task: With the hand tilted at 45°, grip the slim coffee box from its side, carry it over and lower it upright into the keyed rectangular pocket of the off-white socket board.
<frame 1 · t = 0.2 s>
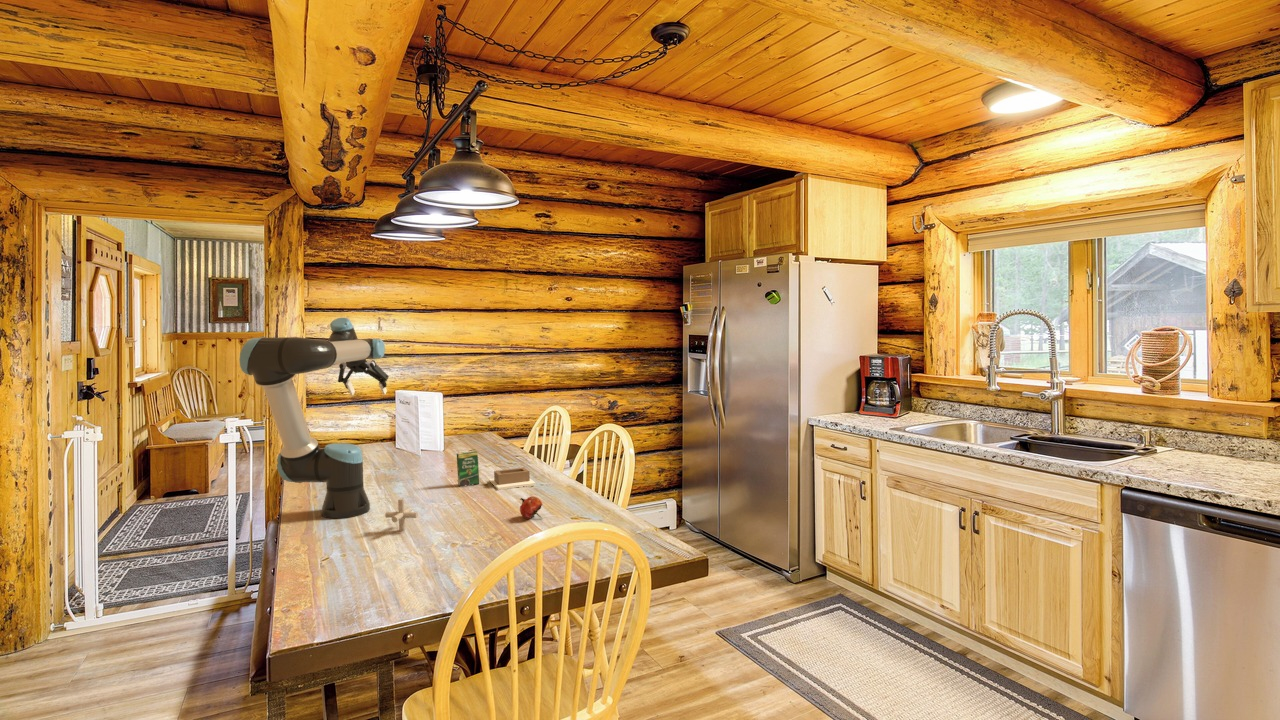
hand: (369, 393, 270), 36 cm above the table, tool tilted 35°, fingers open, 13 cm apart
socket board: (512, 483, 260), on the table
coffee box: (468, 485, 258), on the table
pipe connector: (402, 531, 204), on the table
pomegranate: (532, 518, 215), on the table
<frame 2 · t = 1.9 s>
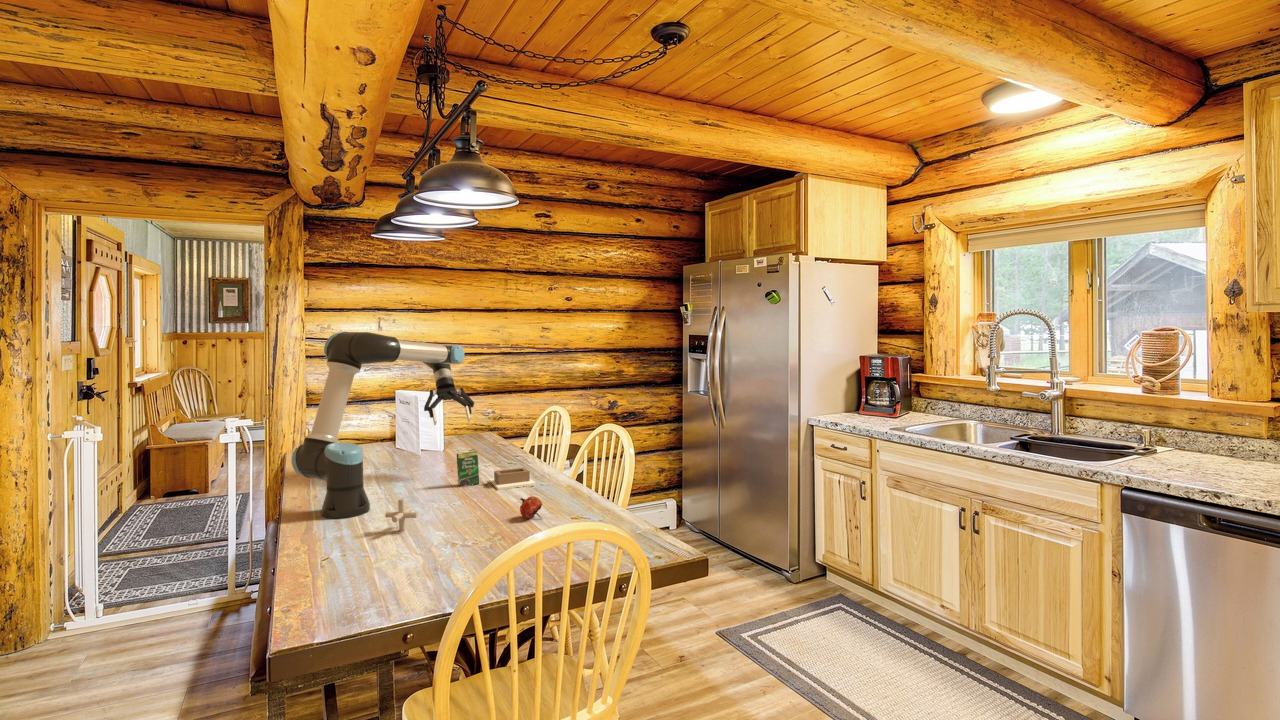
hand: (452, 421, 266), 24 cm above the table, tool tilted 45°, fingers open, 13 cm apart
nothing on the table moved.
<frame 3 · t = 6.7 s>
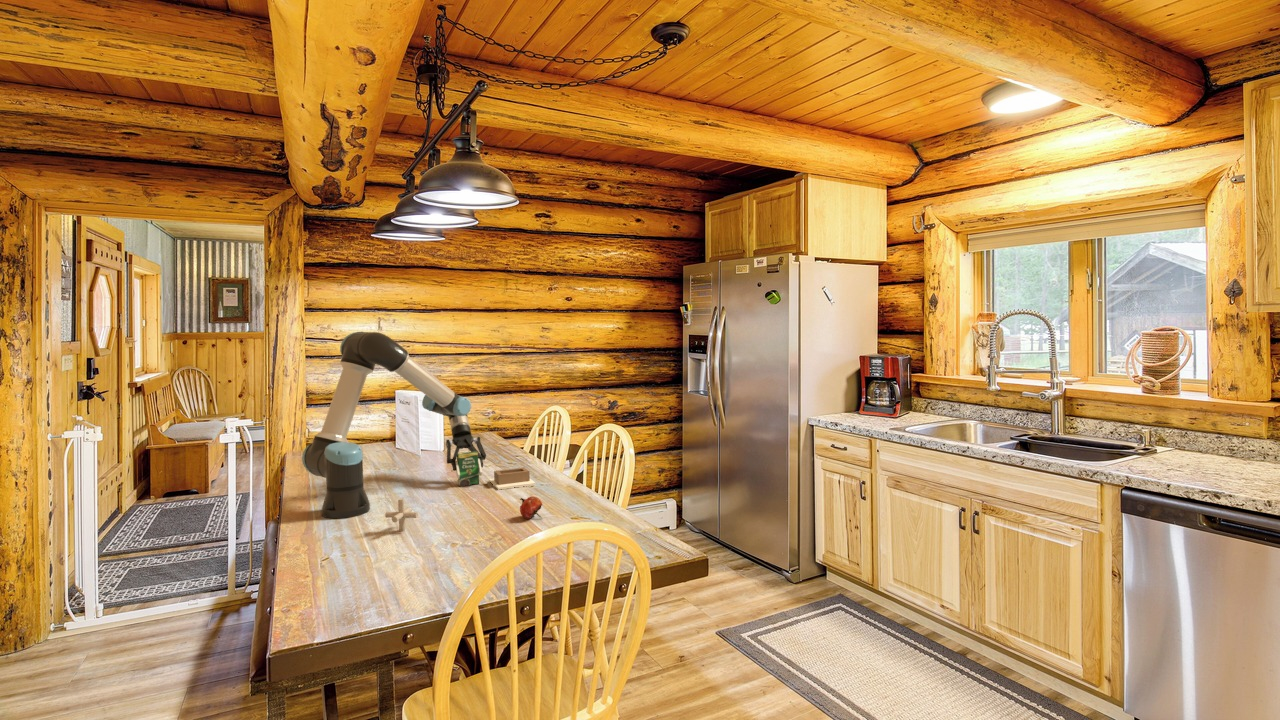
hand: (469, 475, 255), 5 cm above the table, tool tilted 45°, fingers closed on coffee box, 8 cm apart
coffee box: (468, 485, 258), on the table, touching gripper
everything else where it was.
when the fingers open (7 cm above the table, at t = 12.1 s): coffee box drops 1 cm, resting on socket board.
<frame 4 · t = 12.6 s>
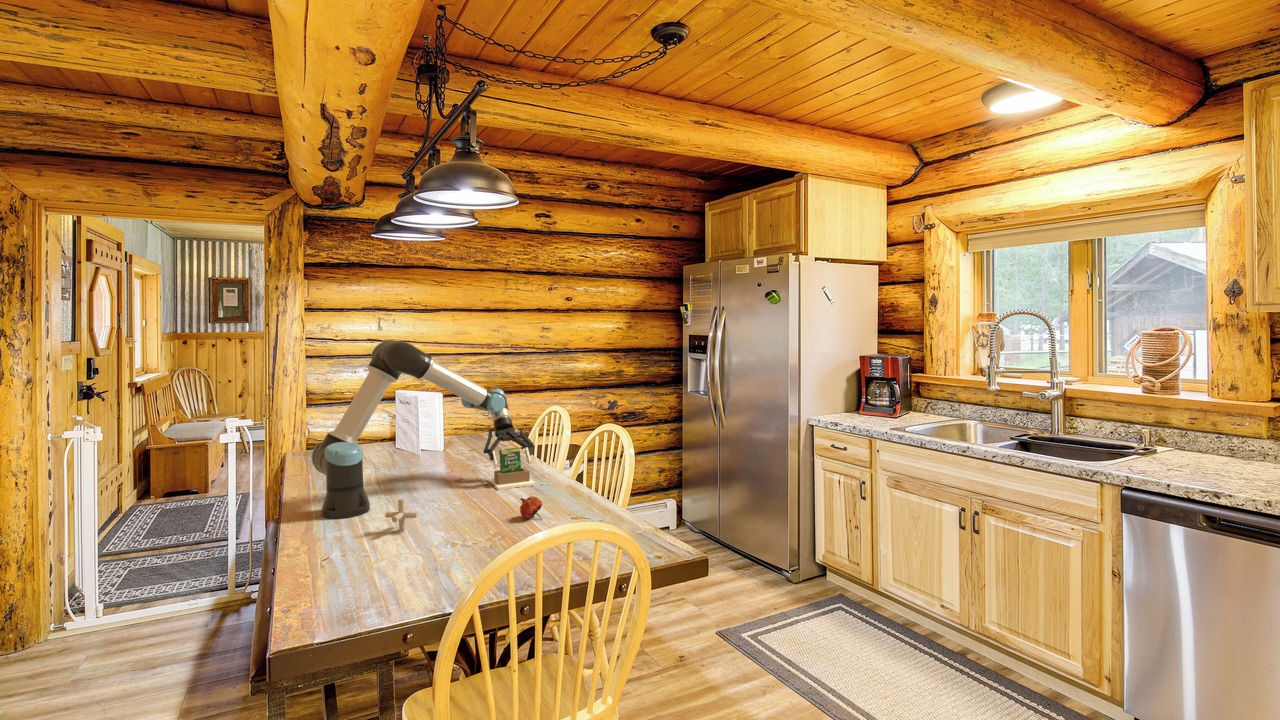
hand: (513, 464, 257), 8 cm above the table, tool tilted 45°, fingers open, 13 cm apart
coffee box: (510, 481, 260), point 1 cm above the table, touching socket board
everything else where it was.
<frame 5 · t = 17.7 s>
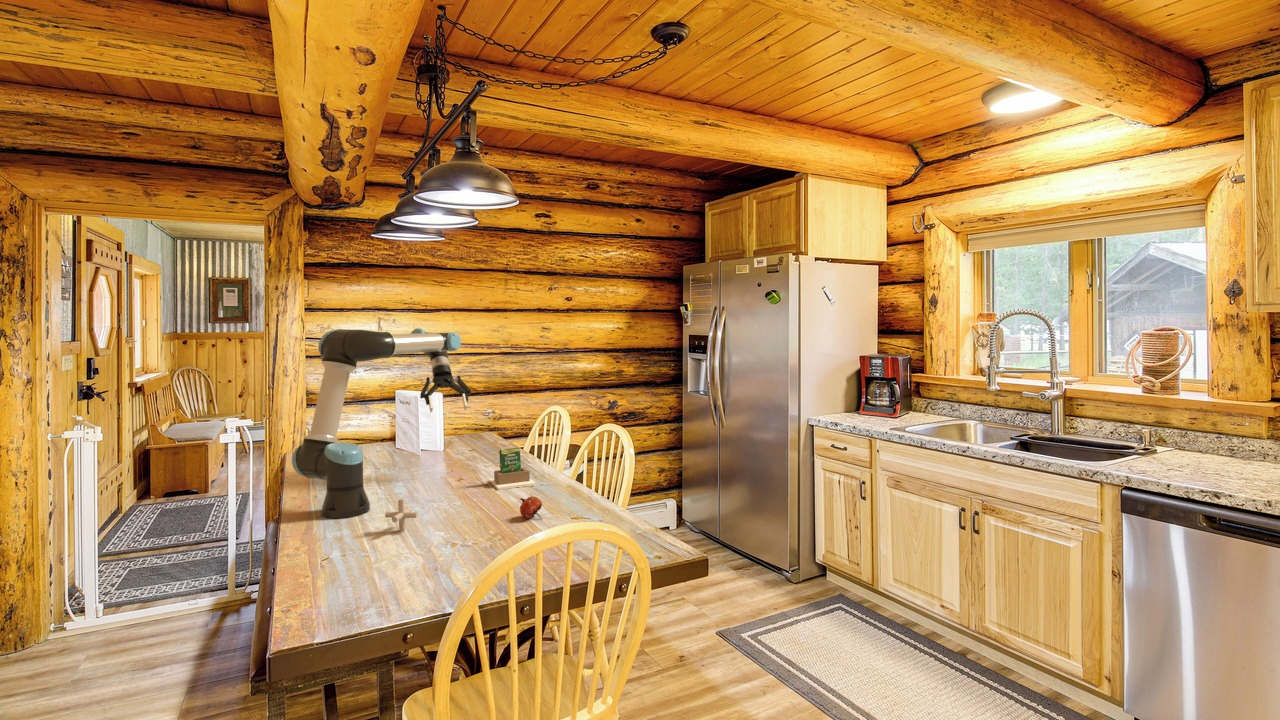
hand: (448, 409, 263), 30 cm above the table, tool tilted 45°, fingers open, 13 cm apart
nothing on the table moved.
at the end: coffee box 0.4 cm off-centre on the socket board, point 0.8 cm above the socket board's base; coffee box tilted 0°; the gripper is holding nothing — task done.
